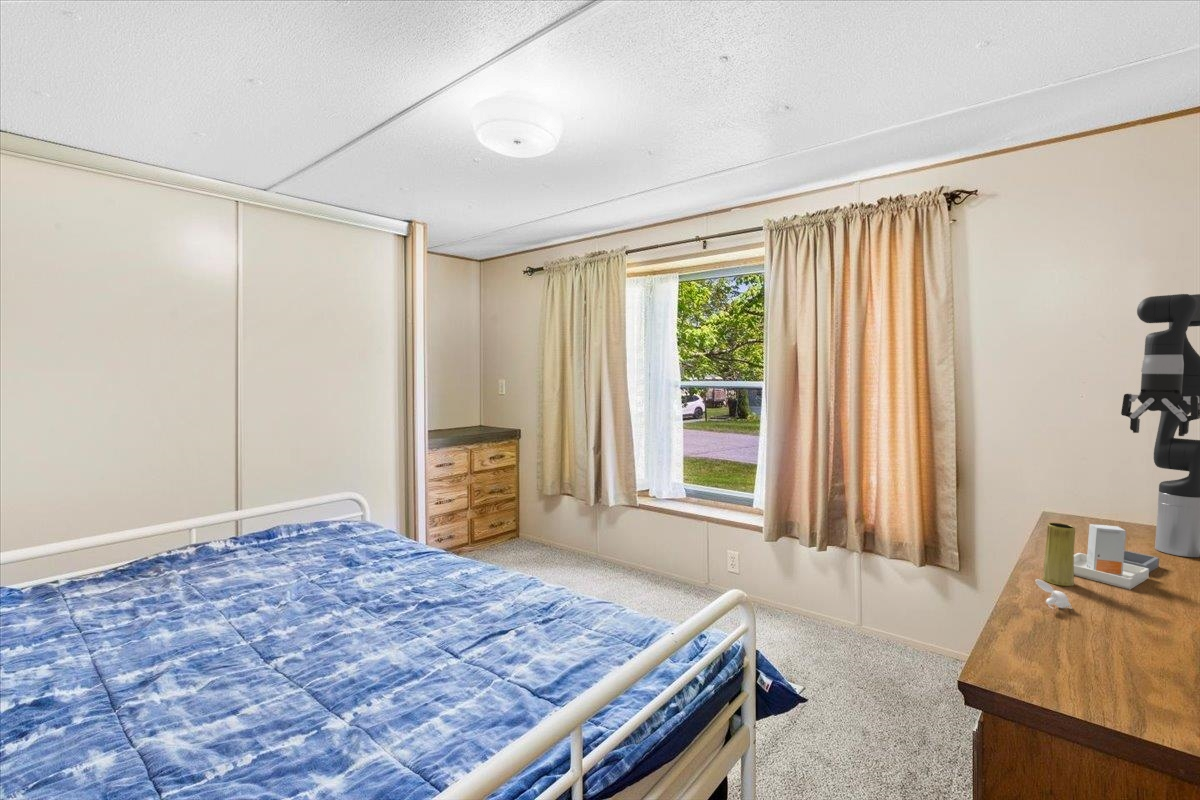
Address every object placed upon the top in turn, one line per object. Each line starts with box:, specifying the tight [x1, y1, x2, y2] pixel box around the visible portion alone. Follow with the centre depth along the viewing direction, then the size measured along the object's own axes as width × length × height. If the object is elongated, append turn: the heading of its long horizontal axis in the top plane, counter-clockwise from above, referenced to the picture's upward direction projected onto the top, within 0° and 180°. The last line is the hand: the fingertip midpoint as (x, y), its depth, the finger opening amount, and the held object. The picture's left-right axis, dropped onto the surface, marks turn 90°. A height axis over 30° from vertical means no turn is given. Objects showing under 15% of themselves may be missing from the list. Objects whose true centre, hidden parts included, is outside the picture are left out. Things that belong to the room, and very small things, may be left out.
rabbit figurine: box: [1035, 579, 1073, 610], centre depth 120 cm, size 6×4×8 cm
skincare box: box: [1086, 523, 1127, 577], centre depth 140 cm, size 6×4×12 cm
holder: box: [1123, 549, 1160, 573], centre depth 148 cm, size 12×12×2 cm
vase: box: [1041, 522, 1076, 587], centre depth 135 cm, size 6×6×14 cm
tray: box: [1074, 552, 1150, 590], centre depth 140 cm, size 14×14×2 cm
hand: (1157, 434), depth 142 cm, fingers open, 8 cm apart
